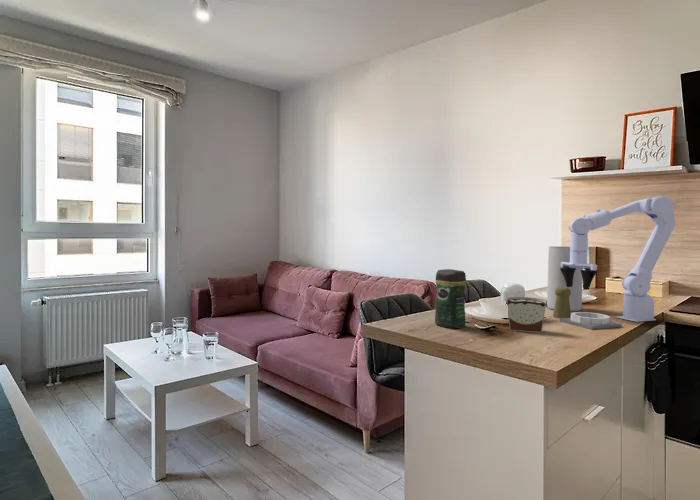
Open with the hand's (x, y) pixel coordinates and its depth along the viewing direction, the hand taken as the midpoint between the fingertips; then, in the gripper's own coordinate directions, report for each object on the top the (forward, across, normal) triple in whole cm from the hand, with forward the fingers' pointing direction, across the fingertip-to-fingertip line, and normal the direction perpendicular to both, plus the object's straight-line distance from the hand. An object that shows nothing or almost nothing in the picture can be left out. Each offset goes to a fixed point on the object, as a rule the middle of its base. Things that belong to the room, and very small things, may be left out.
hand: (577, 288), depth 162 cm
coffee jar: (+11, 0, -54) cm, 55 cm away
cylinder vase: (+11, -13, +7) cm, 18 cm away
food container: (+11, +12, -34) cm, 38 cm away
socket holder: (+10, +12, -7) cm, 17 cm away
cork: (+11, 0, -7) cm, 13 cm away
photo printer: (+11, -5, -25) cm, 28 cm away
